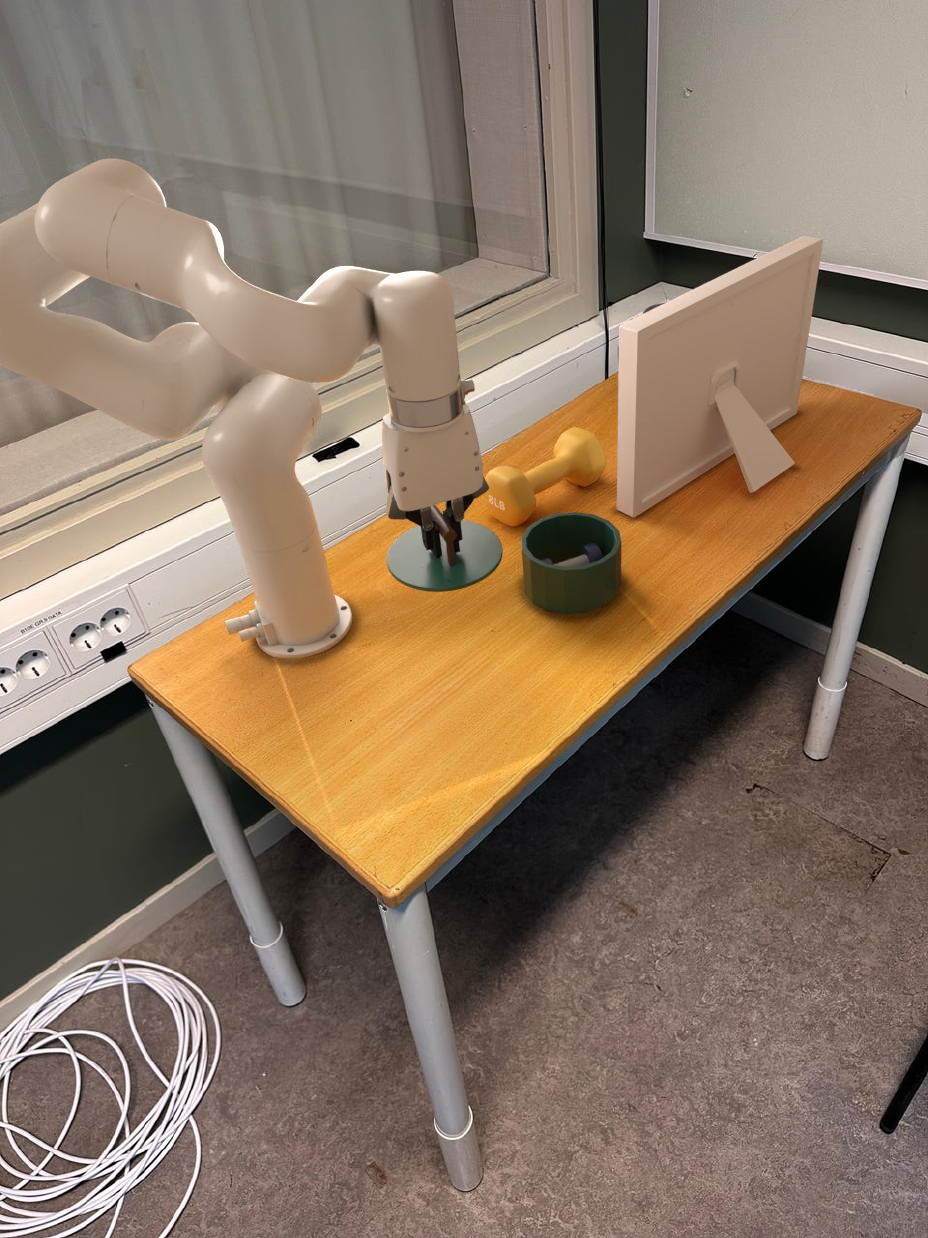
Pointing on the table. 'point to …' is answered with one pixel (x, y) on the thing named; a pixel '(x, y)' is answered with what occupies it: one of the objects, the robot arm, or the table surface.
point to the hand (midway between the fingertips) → (443, 548)
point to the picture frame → (714, 376)
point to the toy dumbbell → (581, 556)
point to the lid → (445, 557)
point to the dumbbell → (544, 476)
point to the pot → (575, 583)
